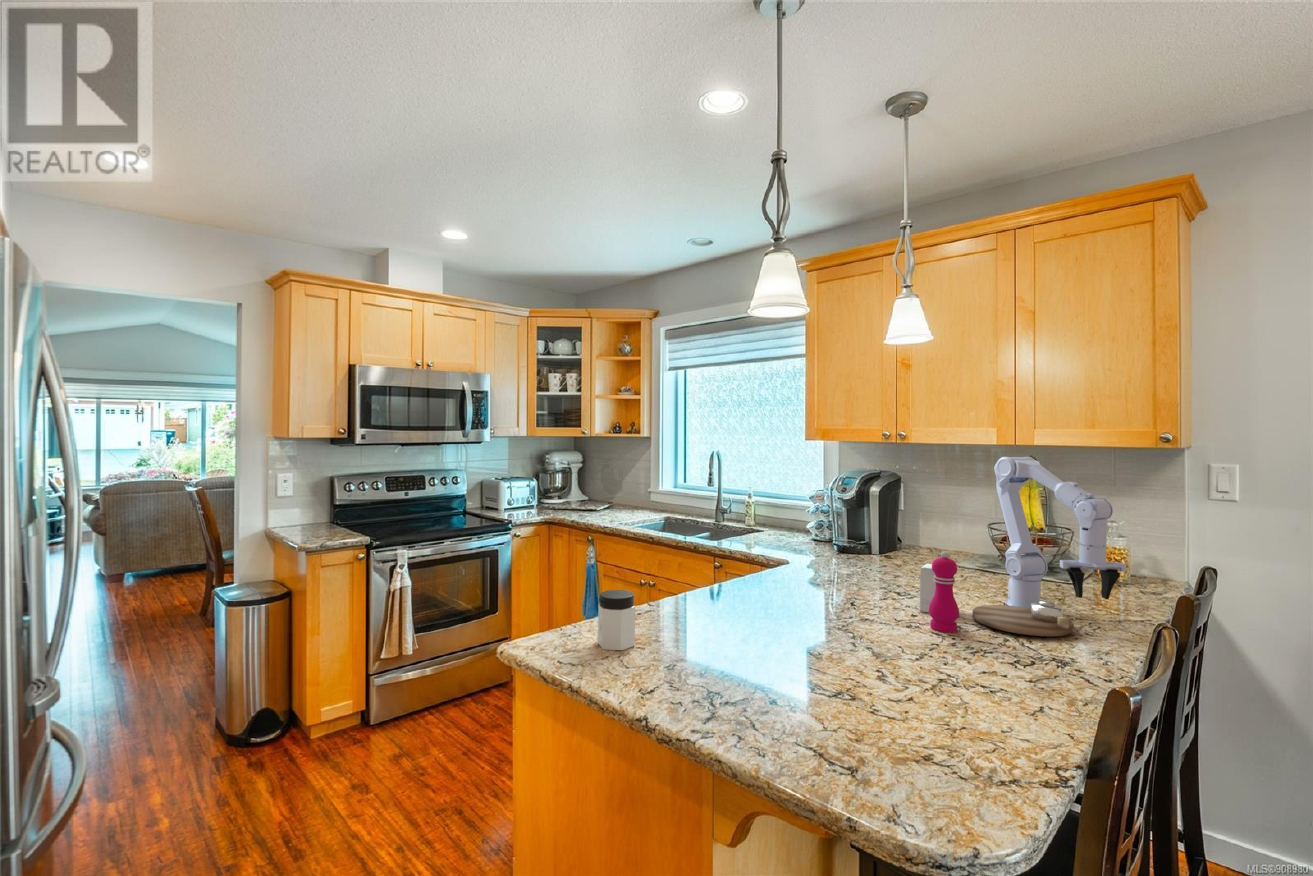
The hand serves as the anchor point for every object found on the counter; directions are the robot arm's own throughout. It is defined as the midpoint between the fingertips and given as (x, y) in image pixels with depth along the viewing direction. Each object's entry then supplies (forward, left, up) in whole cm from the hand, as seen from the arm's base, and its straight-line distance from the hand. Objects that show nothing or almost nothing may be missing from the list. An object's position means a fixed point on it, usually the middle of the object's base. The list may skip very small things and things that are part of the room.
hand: (1092, 597), depth 159 cm
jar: (+39, -117, -9) cm, 123 cm away
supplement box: (-9, -36, -9) cm, 38 cm away
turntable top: (0, -17, -8) cm, 19 cm away
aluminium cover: (0, -11, -6) cm, 12 cm away
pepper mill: (+8, -38, -9) cm, 39 cm away
